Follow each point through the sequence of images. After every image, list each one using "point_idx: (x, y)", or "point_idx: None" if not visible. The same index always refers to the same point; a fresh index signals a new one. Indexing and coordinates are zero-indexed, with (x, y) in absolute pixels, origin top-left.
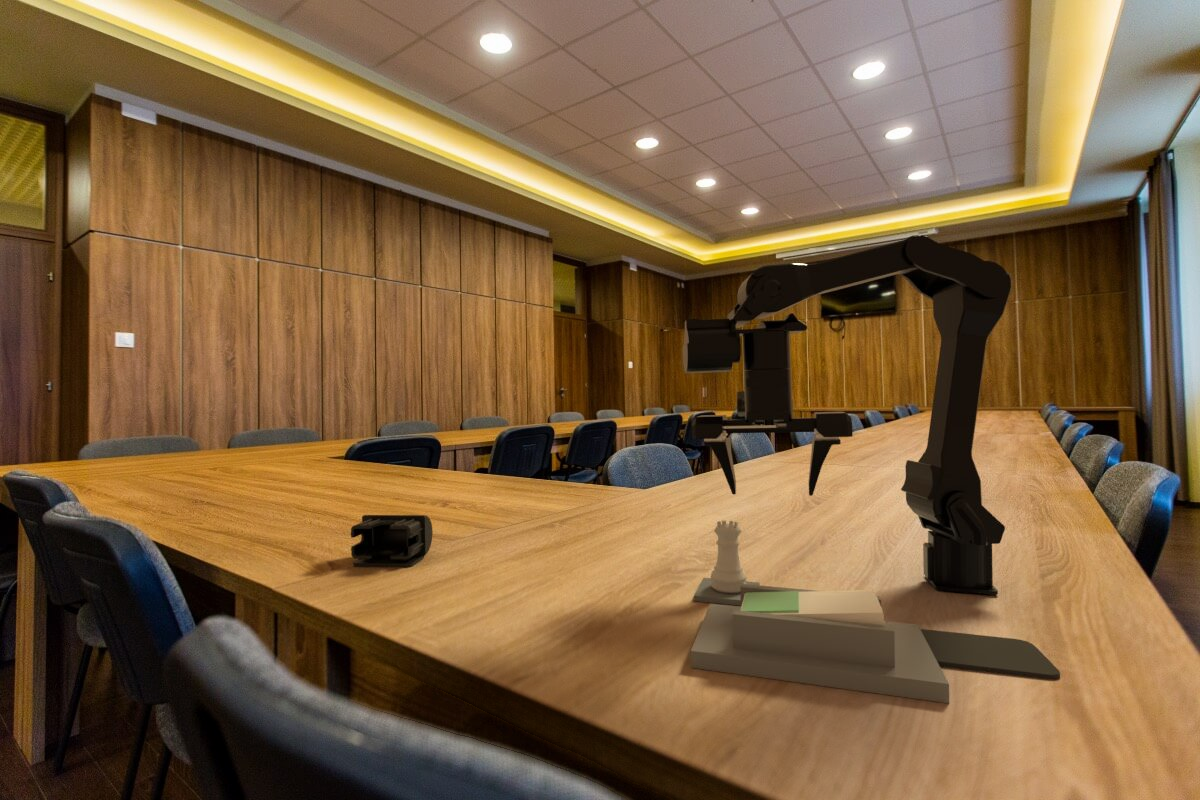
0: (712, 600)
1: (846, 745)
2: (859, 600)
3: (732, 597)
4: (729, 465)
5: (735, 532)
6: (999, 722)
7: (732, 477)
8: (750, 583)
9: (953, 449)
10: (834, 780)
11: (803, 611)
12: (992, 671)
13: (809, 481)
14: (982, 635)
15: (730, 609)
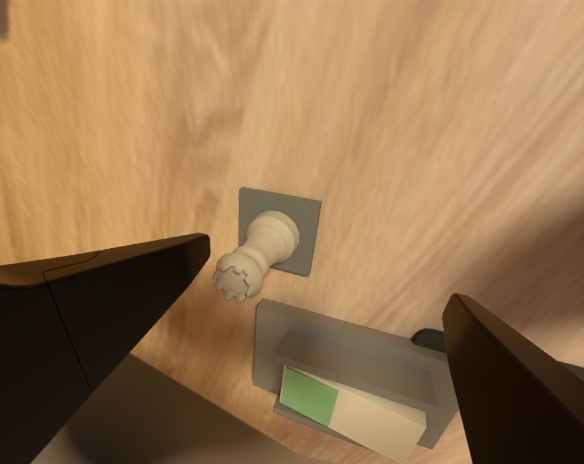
0: None
1: (342, 444)
2: (394, 438)
3: (281, 263)
4: (127, 350)
5: (253, 296)
6: (451, 451)
7: (169, 307)
8: (306, 209)
9: None
10: (329, 457)
11: (333, 426)
12: None
13: (452, 377)
14: (570, 369)
15: (277, 322)
